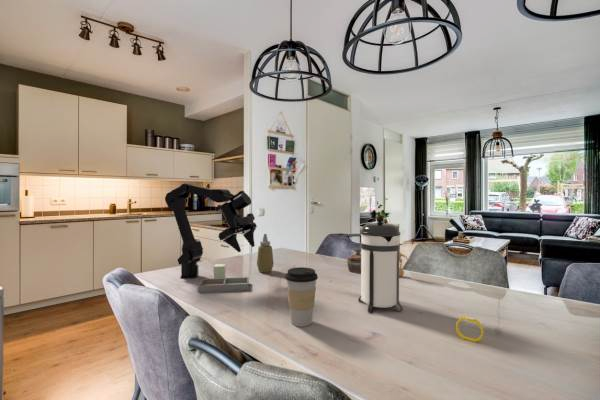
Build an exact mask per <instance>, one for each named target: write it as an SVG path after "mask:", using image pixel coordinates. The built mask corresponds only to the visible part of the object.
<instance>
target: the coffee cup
mask: <svg viewBox="0 0 600 400" xmlns="http://www.w3.org/2000/svg"><path fill="white" fill-rule="evenodd" d="M284 278H285V280H286V281H287V282H286V283H287V289H286V290H287V297H288V306H289V312H290V313H289V314H290V321H291V324H292V325H293V326H295V327H300V328H301V327H302V328H303V327H308V326H310V325H312V323H313V322H312V321H313V312H314V307H315V299H316V285H317V282H316V281H317V280H318V279H319V278H318V274H317V273H316V270H315V269H314V268H310V267H292V268H289V269H288V270H287V273H285V276H284Z"/></svg>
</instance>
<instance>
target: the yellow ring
mask: <svg viewBox="0 0 600 400" xmlns="http://www.w3.org/2000/svg"><path fill="white" fill-rule="evenodd" d="M462 321H467V322H469V323H470V322H471V323H475V324H476V325H478V328H479V329H480V335H479V337H475V338H473V337H469V336H465V335H464V334H463V333H462V332H461V330H460V328H459V323H460V322H462ZM455 330H456V333H457V335H458V336H459V337H460V338H461V339H463V340H466V341H469V342H472V343H473V342H474V343H477V342H479V341H481V339H482V338H483V336H484V327H483V326H482V323H481V322H480V321H479V320H477V318H476V317H475V316H474V315H472V314H464V315H463V316H462V317H460V318H459V319H458V320H457V321H456V324H455Z"/></svg>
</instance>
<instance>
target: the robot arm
mask: <svg viewBox="0 0 600 400" xmlns="http://www.w3.org/2000/svg"><path fill="white" fill-rule="evenodd" d="M190 194H193V195H196V196H197V195H198V196H201V197H205V198H207V199H209V200H210V201H213V202H215V203H219V204H217V207H216V210H215V211H216V212H221V213H222V215H223V217H224V219H225V220H224V224H225V225H226V224H227V226H228V228H225V229H224V230H222V231H221V232H219V233H218V239H219V241H222V242H225V243H226V244H227V245H229V246H231V247H232V249H233V250H235V251H237V252H238V253H241V252H242V249H241V246H240V244H239V242H238V239H237V235H238V233H243V234H242V236H243V237H244V238H245V240H246V241H247V242H248V243H249V245H250V246H251V247H252V248H254V247H255V237H254V234H255V233H254V232H255V230H257V228H258V226H257V224H256V222H254V221H255V219H256V217H255V216H254V214H253V213H252V212H250V213H247V214H246V216H243V215H242V214H241V213H238V211H242V210H243V209H246V208H247V207H248V206H250V205H252V199H251V197H250V196H249V195H248V194H247V193H246V192H245V191H244V190H240V191H239V192H237V193H236V194H232V192H231V191H230V190H229V189H227V188H208V187H204V186H200V185H196V184H193V183H189V182H187V183H182V184H181V185H180V186H178V187H176V188H174V189H172V190H171V191H169V192H167V193H166V194H165V197H164V202H165V203H166V205H167V207H168V209H170V211H172V213H173V216H174V217H175V218H174V219H175V221H176V224H177V227H178V231H179V234H180V238H181V240H182V244H181V245H182V246H181V253H182V254H181V255H180V256H179V257H178V258H177V262H178V265H180V266H181V269H180V270H181V271H180V272H181V273H180V276H179V277H180V279H191V278H194V279H195V278H197V276H198V275H199V272H200V271H199V264H198V262H200V261H201V258H202V256H203V254H204V252H203V251H204V248H203V246H202V242H201V240H196V239H195V237H194V233H193V230H192V227H191V224H190V220H189V218H188V215H187V212H186V206H187V205H186V204H187V201H186V200H187V199H188V198H190ZM220 203H221V204H220Z"/></svg>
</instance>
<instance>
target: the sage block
mask: <svg viewBox="0 0 600 400" xmlns="http://www.w3.org/2000/svg"><path fill="white" fill-rule="evenodd" d="M226 271H227V270H226V263H217V264H216V263H215V264H214V266H213V279H214V278H227V277H226Z"/></svg>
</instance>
